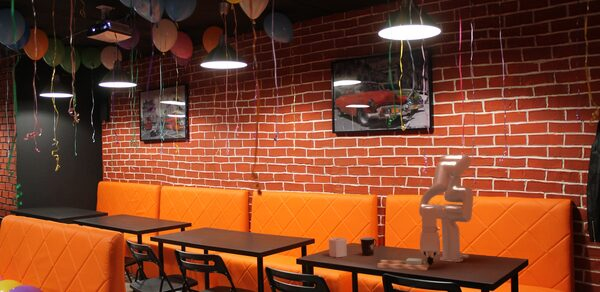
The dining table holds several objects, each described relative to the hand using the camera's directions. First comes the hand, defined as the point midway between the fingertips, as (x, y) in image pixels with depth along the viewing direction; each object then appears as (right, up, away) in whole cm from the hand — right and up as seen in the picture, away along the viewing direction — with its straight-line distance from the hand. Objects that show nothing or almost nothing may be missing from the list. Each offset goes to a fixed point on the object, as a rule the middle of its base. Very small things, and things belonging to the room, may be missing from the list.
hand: (430, 264), depth 278 cm
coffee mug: (-26, -4, +43) cm, 51 cm away
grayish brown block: (-8, -2, +3) cm, 8 cm away
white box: (-45, -5, +43) cm, 63 cm away
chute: (-13, -3, +5) cm, 14 cm away
